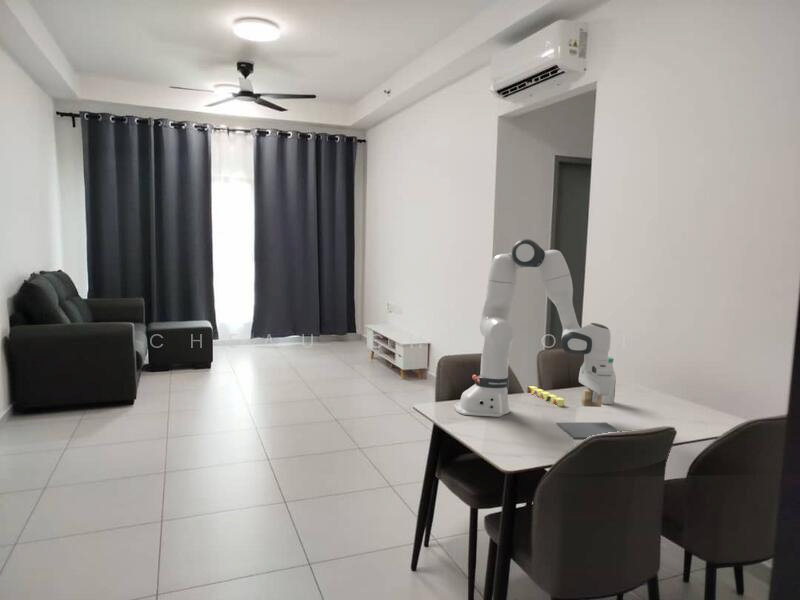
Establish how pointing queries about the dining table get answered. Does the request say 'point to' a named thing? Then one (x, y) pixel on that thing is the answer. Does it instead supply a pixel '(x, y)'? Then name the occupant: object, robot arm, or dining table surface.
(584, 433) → the mat
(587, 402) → the wooden u-shaped block
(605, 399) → the milk bottle
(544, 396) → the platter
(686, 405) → the dining table surface
